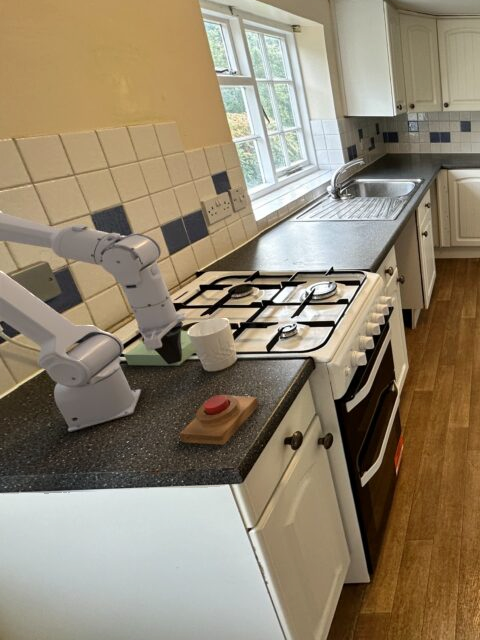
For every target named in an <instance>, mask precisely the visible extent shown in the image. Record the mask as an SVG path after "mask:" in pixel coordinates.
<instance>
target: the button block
mask: <svg viewBox="0 0 480 640" xmlns="http://www.w3.org/2000/svg"><path fill="white" fill-rule="evenodd" d="M224 395H225V396H226V397H227V400H228V403H229V407H228V408H227V409H226V410H224V411H222V412H220V413H218V414H215V415H208V414H207V413H206V410H205V408H204V404H205V402H204V403H203V404H201V406H200V407H199V408H197V410H196V414H195V418H194V419H193V420H192V421H190V423H188V424H187V426H185V427H184V428H183V429H182V430H181V431H180V432H179V436H180V439H181V441H182V442H183V443H185V444H186V443H187V444H205V445H220V446H221V445H223V446H224V445H225V444H226V443H227V442H228V441H229V440H230V439H231V438H232V436H233V435H234V434H236V432H237V431H238V430H239V429H240V427H242V425H243V424H244V423H245V422H246V421H247V419H249V418H250V416H252V414H253V413H254V412H255V411H256V409H257V408H258V407H259V406H260V405H259V401H258V398H257V396H241V395H230V394H224Z"/></svg>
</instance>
